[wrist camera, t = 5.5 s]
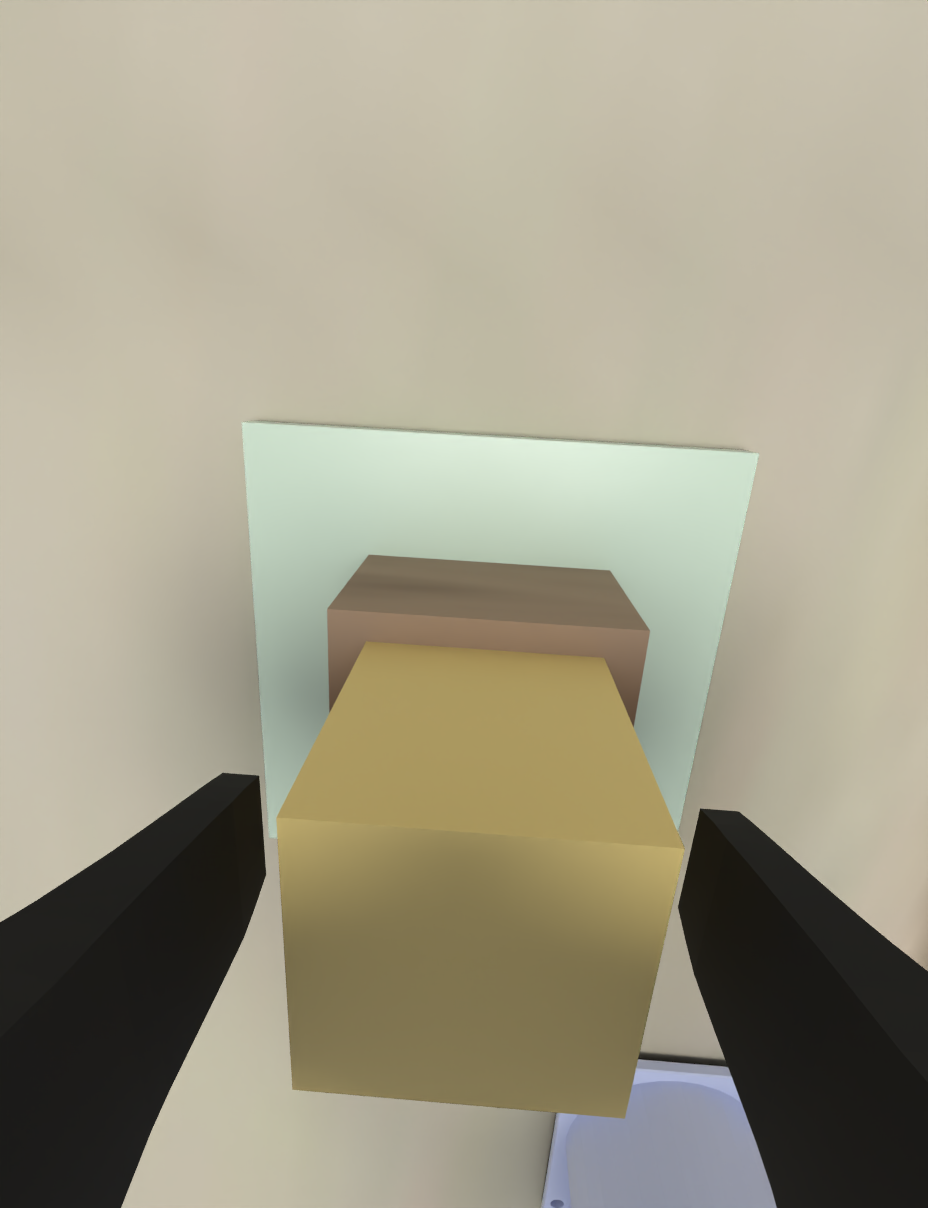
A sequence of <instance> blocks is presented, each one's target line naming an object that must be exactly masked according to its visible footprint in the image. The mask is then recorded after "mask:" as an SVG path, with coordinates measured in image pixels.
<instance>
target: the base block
mask: <svg viewBox="0 0 928 1208" xmlns="http://www.w3.org/2000/svg"><path fill="white" fill-rule="evenodd" d="M327 629H328V674H329V713H330V711H331V709H332V707H333V705H334V703H335V701H336V699H337V697H338V696H339V694H340V692H341V690H342V688H343V686H344V684H345V682H346V680H347V678H348V676H349V674H350V672H351V670H352V668H353V666H354V664H355V662H356V660H357V658H358V656H359V654H360V652H361V650H362V648H363V647H364V645H365V643H366V641H367V642H381V643H396V644H410V645H425V646H439V647H454V648H468V649H483V650H497V651H512V652H526V653H541V654H555V655H570V656H584V657H598V658H604V659H605V661H606V664H607V666H608V668H609V671H610V673H611V675H612V678H613V680H614V682H615V685H616V687H617V690H618V692H619V694H620V697H621V699H622V701H623V704H624V706H625V708H626V711H627V713H628V716H629V718H630V720H631V723H632V725H633V727H634V723H635V717H636V711H637V705H638V699H639V693H640V688H641V682H642V676H643V670H644V664H645V659H646V653H647V647H648V641H649V635H650V630H649V628H648V627H647V625H646V624H645V622H644V621H643V619H642V618H641V616H640V615H639V613H638V612H637V610H636V609H635V607H634V606H633V604H632V603H631V601H630V600H629V598H628V597H627V595H626V594H625V592H624V591H623V589H622V588H621V586H620V585H619V583H618V582H617V580H616V579H615V577H614V576H613V574H612V573H611V571H610V570H596V569H581V568H566V567H550V566H535V565H520V564H505V563H489V562H474V561H459V560H443V559H428V558H413V557H398V556H382V555H368V556H367V558H366V559H365V560H364V562H363V563H362V564H361V565H360V567H359V568H358V569H357V571H356V572H355V573H354V575H353V576H352V577H351V578H350V580H349V581H348V582H347V584H346V585H345V586H344V588H343V589H342V590H341V591H340V593H339V594H338V595H337V597H336V598H335V599H334V601H333V602H332V603H331V604H330V606H329V607H328V608H327Z"/></svg>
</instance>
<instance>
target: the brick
mask: <svg viewBox="0 0 928 1208" xmlns="http://www.w3.org/2000/svg"><path fill="white" fill-rule="evenodd" d="M276 822H277V838H278V855H279V872H280V888H281V905H282V922H283V938H284V955H285V972H286V988H287V1005H288V1022H289V1038H290V1055H291V1072H292V1088H293V1090H303V1091H314V1092H325V1093H337V1094H348V1095H360V1096H371V1097H383V1098H394V1099H406V1100H417V1101H428V1102H440V1103H451V1104H463V1105H474V1106H486V1107H497V1108H509V1109H520V1110H531V1111H543V1112H554V1113H566V1114H577V1115H589V1116H600V1117H612V1118H623V1119H625V1116H626V1111H627V1107H628V1102H629V1098H630V1093H631V1089H632V1084H633V1080H634V1075H635V1071H636V1066H637V1062H638V1057H639V1053H640V1048H641V1044H642V1039H643V1035H644V1030H645V1026H646V1021H647V1017H648V1012H649V1008H650V1003H651V999H652V994H653V990H654V985H655V981H656V976H657V972H658V967H659V963H660V958H661V954H662V949H663V945H664V940H665V936H666V931H667V926H668V922H669V917H670V913H671V908H672V904H673V899H674V895H675V890H676V886H677V881H678V877H679V872H680V868H681V863H682V859H683V854H684V850H685V848H684V846H683V843H682V841H681V839H680V836H679V834H678V832H677V829H676V827H675V824H674V822H673V820H672V817H671V815H670V813H669V810H668V808H667V806H666V803H665V801H664V798H663V796H662V794H661V791H660V789H659V787H658V784H657V782H656V780H655V777H654V775H653V772H652V770H651V768H650V765H649V763H648V761H647V758H646V756H645V753H644V751H643V749H642V746H641V744H640V742H639V739H638V737H637V735H636V732H635V730H634V727H633V725H632V723H631V720H630V718H629V716H628V713H627V711H626V708H625V706H624V704H623V701H622V699H621V697H620V694H619V692H618V690H617V687H616V685H615V682H614V680H613V678H612V675H611V673H610V671H609V668H608V666H607V664H606V661H605V659H604V658H598V657H584V656H570V655H555V654H541V653H526V652H512V651H497V650H483V649H468V648H454V647H439V646H425V645H410V644H396V643H381V642H367V641H366V643H365V645H364V647H363V648H362V650H361V652H360V654H359V656H358V658H357V660H356V662H355V664H354V666H353V668H352V670H351V672H350V674H349V676H348V678H347V680H346V682H345V684H344V686H343V688H342V690H341V692H340V694H339V696H338V697H337V699H336V701H335V703H334V705H333V707H332V709H331V711H330V713H329V715H328V717H327V719H326V721H325V723H324V725H323V727H322V729H321V731H320V733H319V735H318V737H317V739H316V741H315V743H314V744H313V746H312V748H311V750H310V752H309V754H308V756H307V758H306V760H305V762H304V764H303V766H302V768H301V770H300V772H299V774H298V776H297V778H296V780H295V782H294V784H293V786H292V788H291V790H290V792H289V793H288V795H287V797H286V799H285V801H284V803H283V805H282V807H281V809H280V811H279V813H278V815H277V817H276Z"/></svg>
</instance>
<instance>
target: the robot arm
mask: <svg viewBox="0 0 928 1208" xmlns="http://www.w3.org/2000/svg"><path fill="white" fill-rule="evenodd" d="M265 876H266V867H265V853H264V839H263V824H262V810H261V796H260V781H259V776H256V775H242V774H229V773H222V774H221V775H219V776H217V777H216V778H214V779H213V780H211V781H210V782H209V783H207V784H206V785H204V786H203V787H201V788H200V789H199V790H197V791H196V792H194V793H193V794H192V795H190V796H189V797H188V798H186V799H185V800H183V801H182V802H181V803H179V804H178V805H176V806H175V807H174V808H172V809H171V810H170V811H168V812H167V813H165V814H164V815H163V816H161V817H160V818H158V819H157V820H156V821H154V822H153V823H151V824H150V825H149V826H147V827H146V828H144V829H143V830H141V831H140V832H139V833H137V834H136V835H134V836H133V837H132V838H130V839H129V840H127V841H126V842H124V843H123V844H122V845H120V846H119V847H117V848H116V849H115V850H113V851H112V852H110V853H109V854H107V855H106V856H104V857H103V858H101V859H100V860H98V861H97V862H95V863H93V864H92V865H90V866H89V867H87V868H86V869H84V870H83V871H81V872H80V873H78V874H77V875H75V876H73V877H72V878H70V879H69V880H67V881H66V882H64V883H63V884H61V885H60V886H58V887H57V888H55V889H54V890H52V891H50V892H49V893H47V894H46V895H44V896H43V897H41V898H40V899H38V900H37V901H35V902H33V903H32V904H30V905H28V906H27V907H25V908H24V909H22V910H20V911H19V912H17V913H15V914H14V915H12V916H10V917H9V918H7V919H5V920H3V921H2V922H0V1208H121V1206H122V1204H123V1201H124V1199H125V1196H126V1194H127V1191H128V1188H129V1186H130V1183H131V1181H132V1178H133V1176H134V1173H135V1171H136V1168H137V1166H138V1163H139V1161H140V1158H141V1156H142V1153H143V1150H144V1148H145V1145H146V1143H147V1140H148V1138H149V1135H150V1133H151V1130H152V1128H153V1126H154V1124H155V1121H156V1119H157V1117H158V1115H159V1113H160V1110H161V1108H162V1106H163V1104H164V1101H165V1099H166V1097H167V1095H168V1092H169V1090H170V1088H171V1086H172V1084H173V1082H174V1080H175V1078H176V1076H177V1074H178V1072H179V1070H180V1068H181V1066H182V1064H183V1062H184V1060H185V1058H186V1056H187V1054H188V1052H189V1050H190V1048H191V1045H192V1043H193V1041H194V1039H195V1037H196V1035H197V1033H198V1031H199V1029H200V1027H201V1025H202V1023H203V1021H204V1019H205V1017H206V1015H207V1013H208V1011H209V1009H210V1007H211V1005H212V1003H213V1001H214V999H215V997H216V994H217V992H218V990H219V988H220V986H221V984H222V982H223V980H224V978H225V976H226V974H227V972H228V970H229V968H230V966H231V963H232V961H233V959H234V957H235V955H236V953H237V951H238V949H239V947H240V945H241V942H242V940H243V938H244V936H245V933H246V930H247V928H248V925H249V922H250V919H251V917H252V914H253V911H254V909H255V906H256V903H257V900H258V897H259V894H260V891H261V888H262V885H263V882H264V879H265ZM678 909H679V913H680V918H681V922H682V926H683V931H684V935H685V940H686V944H687V948H688V952H689V956H690V960H691V963H692V967H693V971H694V975H695V978H696V980H697V983H698V986H699V989H700V992H701V995H702V997H703V1000H704V1003H705V1006H706V1008H707V1011H708V1014H709V1017H710V1019H711V1022H712V1025H713V1028H714V1030H715V1033H716V1036H717V1038H718V1041H719V1044H720V1047H721V1049H722V1052H723V1055H724V1057H725V1060H726V1063H727V1065H728V1067H724V1066H712V1065H700V1064H689V1063H677V1062H665V1061H653V1060H641V1059H638V1062H637V1066H636V1071H635V1075H634V1080H633V1084H632V1089H631V1093H630V1098H629V1102H628V1107H627V1111H626V1116H625V1119H623V1118H612V1117H600V1116H589V1115H577V1114H566V1113H556V1120H555V1126H554V1132H553V1138H552V1144H551V1150H550V1156H549V1163H548V1169H547V1175H546V1181H545V1187H544V1193H543V1200H542V1206H541V1208H928V971H927V970H925V969H924V968H923V967H921V966H920V965H919V964H918V963H916V962H915V961H914V960H913V959H911V958H910V957H909V956H908V955H906V954H905V953H904V952H903V951H901V950H900V949H899V948H897V947H896V946H895V945H894V944H892V943H891V942H890V941H889V940H888V939H886V938H885V937H884V936H883V935H881V934H880V933H879V932H878V931H877V930H875V929H874V928H873V927H872V926H871V925H869V924H868V923H867V922H866V921H865V920H863V919H862V918H861V917H860V916H859V915H857V914H856V913H855V912H854V911H853V910H852V909H850V908H849V907H848V906H847V905H846V904H845V903H843V902H842V901H841V900H840V899H839V898H838V897H836V896H835V895H834V894H833V893H832V892H831V891H829V890H828V889H827V888H826V887H825V886H824V885H823V884H821V883H820V882H819V881H818V880H817V879H816V878H815V877H813V876H812V875H811V874H810V873H809V872H808V871H807V870H806V869H804V868H803V867H802V866H801V865H800V864H799V863H798V862H797V861H795V860H794V859H793V858H792V857H791V856H790V855H789V854H787V853H786V852H785V851H784V850H783V849H782V848H781V847H780V846H778V845H777V844H776V843H775V842H774V841H773V840H772V839H771V838H769V837H768V836H767V835H766V834H765V833H764V832H763V831H761V830H760V829H759V828H758V827H757V826H756V825H754V824H753V823H752V822H751V821H750V820H748V819H747V818H746V817H745V816H743V815H742V814H741V813H740V812H737V811H724V810H711V809H700V812H699V817H698V821H697V826H696V830H695V835H694V839H693V843H692V848H691V852H690V857H689V861H688V865H687V870H686V874H685V879H684V883H683V888H682V892H681V896H680V901H679V905H678Z"/></svg>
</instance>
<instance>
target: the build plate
mask: <svg viewBox="0 0 928 1208" xmlns="http://www.w3.org/2000/svg"><path fill="white" fill-rule="evenodd" d="M242 434H243V449H244V464H245V479H246V494H247V510H248V525H249V540H250V555H251V570H252V585H253V601H254V616H255V631H256V646H257V661H258V677H259V692H260V707H261V722H262V737H263V752H264V768H265V783H266V798H267V813H268V828H269V838H277V822H276V817H277V815H278V813H279V811H280V809H281V807H282V805H283V803H284V801H285V799H286V797H287V795H288V793H289V792H290V790H291V788H292V786H293V784H294V782H295V780H296V778H297V776H298V774H299V772H300V770H301V768H302V766H303V764H304V762H305V760H306V758H307V756H308V754H309V752H310V750H311V748H312V746H313V744H314V743H315V741H316V739H317V737H318V735H319V733H320V731H321V729H322V727H323V725H324V723H325V721H326V719H327V717H328V715H329V674H328V629H327V608H328V607H329V606H330V604H331V603H332V602H333V601H334V599H335V598H336V597H337V595H338V594H339V593H340V591H341V590H342V589H343V588H344V586H345V585H346V584H347V582H348V581H349V580H350V578H351V577H352V576H353V575H354V573H355V572H356V571H357V569H358V568H359V567H360V565H361V564H362V563H363V562H364V560H365V559H366V558H367V556H368V555H382V556H398V557H413V558H428V559H443V560H459V561H474V562H489V563H505V564H520V565H535V566H550V567H566V568H581V569H596V570H610V571H611V573H612V574H613V576H614V577H615V579H616V580H617V582H618V583H619V585H620V586H621V588H622V589H623V591H624V592H625V594H626V595H627V597H628V598H629V600H630V601H631V603H632V604H633V606H634V607H635V609H636V610H637V612H638V613H639V615H640V616H641V618H642V619H643V621H644V622H645V624H646V625H647V627H648V628H649V630H650V635H649V641H648V647H647V653H646V659H645V664H644V670H643V676H642V682H641V688H640V693H639V699H638V705H637V711H636V717H635V723H634V730H635V732H636V735H637V737H638V739H639V742H640V744H641V746H642V749H643V751H644V753H645V756H646V758H647V761H648V763H649V765H650V768H651V770H652V772H653V775H654V777H655V780H656V782H657V784H658V787H659V789H660V791H661V794H662V796H663V798H664V801H665V803H666V806H667V808H668V810H669V813H670V815H671V817H672V820H673V822H674V824H675V827H676V829H677V832H678V830H679V825H680V820H681V816H682V811H683V807H684V802H685V797H686V793H687V788H688V783H689V779H690V774H691V769H692V765H693V760H694V755H695V751H696V746H697V741H698V737H699V732H700V727H701V723H702V718H703V713H704V709H705V704H706V699H707V695H708V690H709V685H710V681H711V676H712V671H713V667H714V662H715V657H716V653H717V648H718V643H719V639H720V634H721V629H722V625H723V620H724V615H725V611H726V606H727V601H728V597H729V592H730V587H731V583H732V578H733V573H734V569H735V564H736V559H737V555H738V550H739V545H740V541H741V536H742V531H743V527H744V522H745V517H746V513H747V508H748V503H749V499H750V494H751V489H752V485H753V480H754V475H755V471H756V466H757V461H758V457H759V453H755V452H751V451H746V450H732V449H716V448H699V447H683V446H666V445H650V444H633V443H616V442H600V441H583V440H567V439H550V438H534V437H517V436H500V435H484V434H467V433H451V432H434V431H418V430H401V429H385V428H368V427H351V426H335V425H318V424H302V423H285V422H269V421H247V422H242Z"/></svg>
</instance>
